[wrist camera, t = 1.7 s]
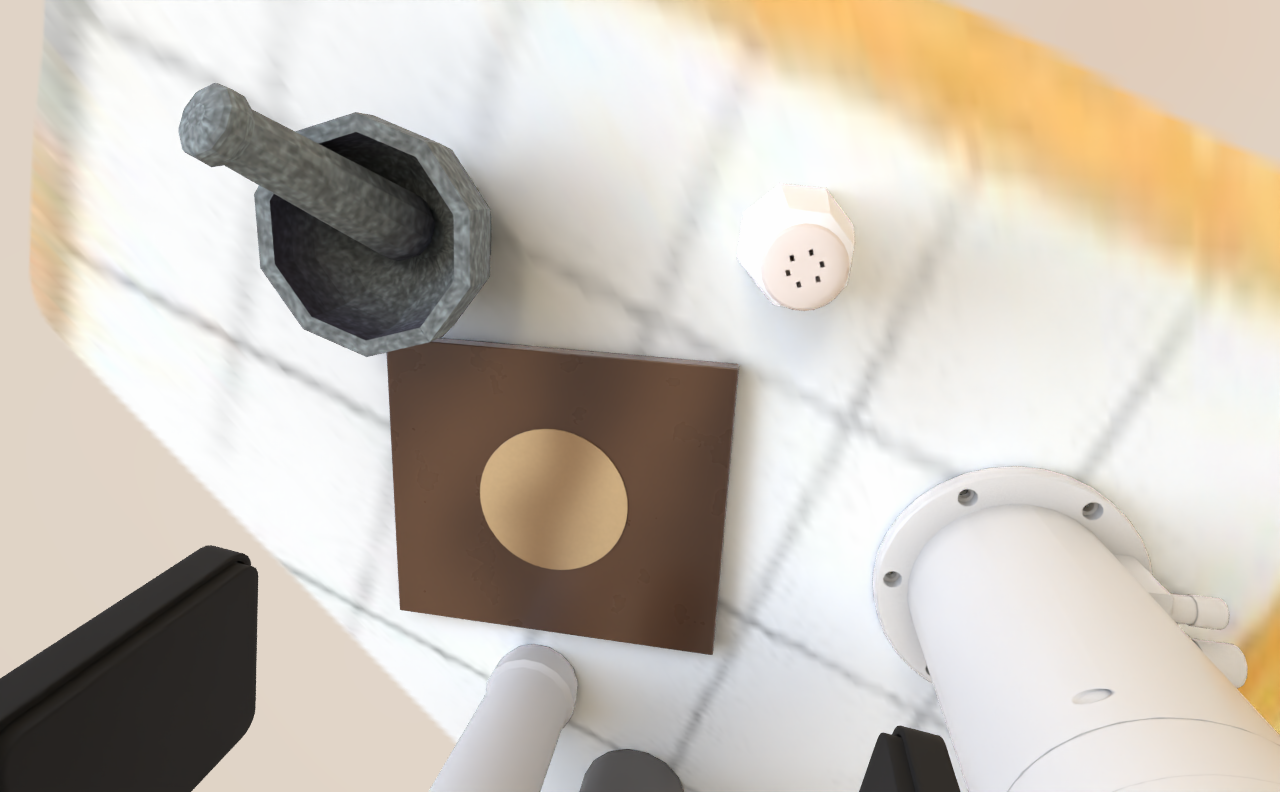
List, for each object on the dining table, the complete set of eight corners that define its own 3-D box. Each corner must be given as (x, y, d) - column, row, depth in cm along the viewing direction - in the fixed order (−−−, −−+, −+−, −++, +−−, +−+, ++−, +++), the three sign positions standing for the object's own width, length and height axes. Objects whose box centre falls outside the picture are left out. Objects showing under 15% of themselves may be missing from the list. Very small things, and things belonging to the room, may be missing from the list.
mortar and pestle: (562, 265, 36) (467, 304, 25) (419, 359, 39) (275, 432, 27) (431, 58, 34) (265, -2, 23) (292, 170, 37) (81, 166, 26)
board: (739, 363, 36) (738, 369, 35) (713, 644, 41) (712, 656, 40) (394, 333, 39) (384, 338, 38) (407, 601, 43) (398, 611, 42)
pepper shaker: (751, 313, 35) (743, 369, 25) (721, 200, 34) (700, 209, 24) (866, 282, 34) (909, 327, 24) (839, 164, 33) (872, 157, 22)
